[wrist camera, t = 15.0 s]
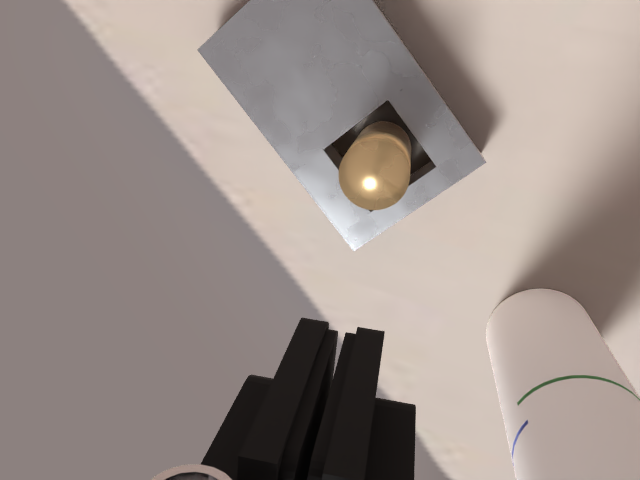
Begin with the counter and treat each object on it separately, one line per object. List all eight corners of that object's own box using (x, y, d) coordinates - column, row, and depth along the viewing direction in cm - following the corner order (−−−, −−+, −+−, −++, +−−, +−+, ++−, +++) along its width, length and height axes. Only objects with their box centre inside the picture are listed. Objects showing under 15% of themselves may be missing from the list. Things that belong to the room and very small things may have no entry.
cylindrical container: (470, 358, 40) (535, 782, 17) (509, 274, 37) (649, 640, 14) (564, 390, 40) (764, 874, 16) (610, 308, 37) (926, 745, 14)
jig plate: (214, 49, 36) (197, 49, 33) (331, -60, 33) (323, -70, 30) (358, 236, 39) (353, 251, 36) (481, 153, 35) (486, 162, 32)
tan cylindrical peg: (356, 119, 36) (340, 137, 28) (414, 123, 35) (413, 143, 28) (352, 175, 37) (336, 206, 30) (408, 180, 37) (406, 213, 29)
